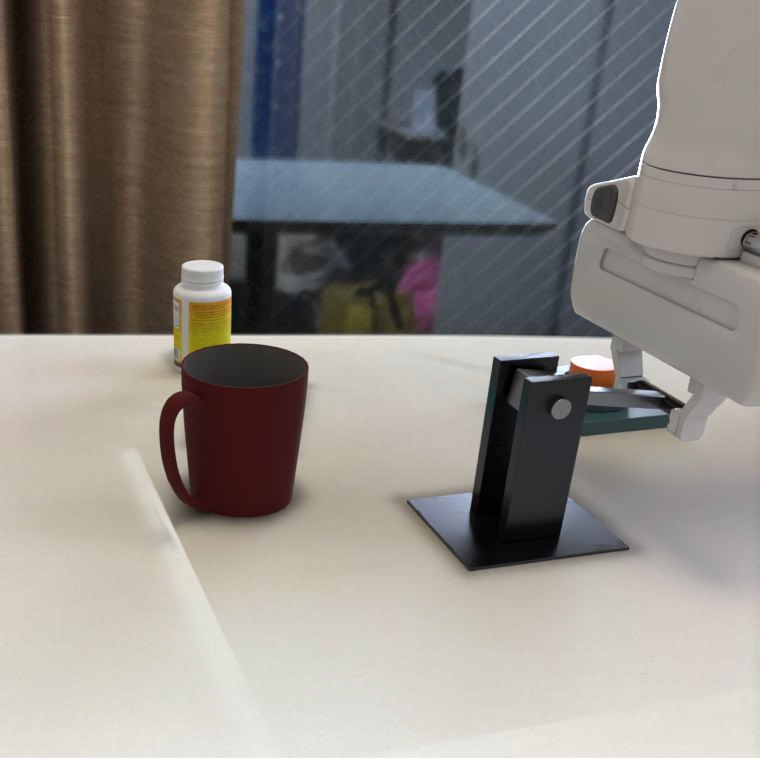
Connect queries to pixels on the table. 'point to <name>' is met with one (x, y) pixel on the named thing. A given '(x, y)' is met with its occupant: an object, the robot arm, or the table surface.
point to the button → (594, 369)
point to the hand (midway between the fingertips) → (653, 417)
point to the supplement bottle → (200, 309)
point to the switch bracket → (523, 476)
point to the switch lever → (607, 394)
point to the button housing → (618, 417)
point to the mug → (237, 428)
